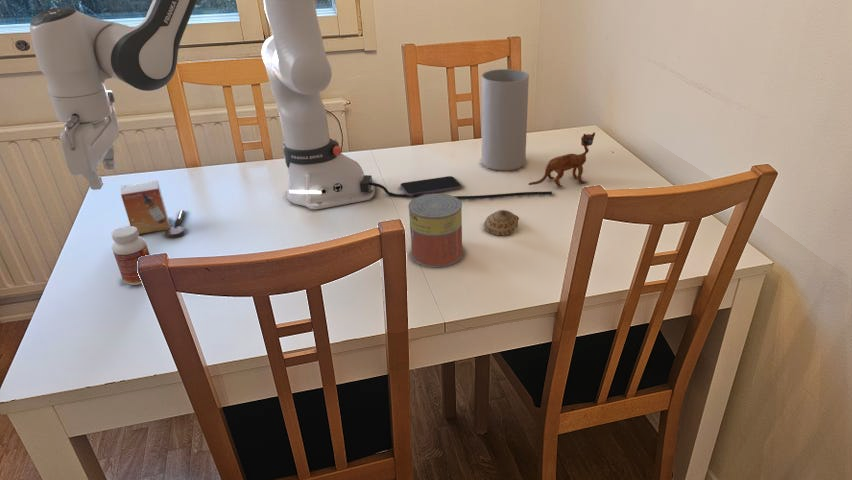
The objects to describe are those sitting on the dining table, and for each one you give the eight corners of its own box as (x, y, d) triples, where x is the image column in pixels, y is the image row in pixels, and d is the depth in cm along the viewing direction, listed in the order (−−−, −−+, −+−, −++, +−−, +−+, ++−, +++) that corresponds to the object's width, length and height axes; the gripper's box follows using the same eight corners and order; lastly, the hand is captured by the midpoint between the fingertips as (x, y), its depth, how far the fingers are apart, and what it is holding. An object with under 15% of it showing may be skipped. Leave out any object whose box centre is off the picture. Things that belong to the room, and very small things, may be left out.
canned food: (414, 240, 147) (411, 193, 141) (464, 241, 147) (463, 193, 141) (408, 266, 138) (405, 216, 131) (461, 267, 137) (460, 217, 131)
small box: (133, 236, 149) (119, 194, 144) (132, 225, 153) (119, 185, 148) (170, 229, 152) (158, 188, 146) (169, 219, 156) (157, 179, 151)
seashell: (524, 211, 155) (516, 213, 147) (520, 234, 156) (512, 237, 148) (491, 206, 157) (482, 208, 149) (488, 229, 158) (479, 232, 150)
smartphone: (462, 186, 170) (408, 194, 165) (462, 189, 171) (408, 198, 166) (452, 175, 176) (399, 183, 171) (452, 179, 177) (399, 187, 171)
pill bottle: (158, 280, 133) (143, 233, 127) (126, 289, 130) (109, 241, 125) (152, 267, 138) (138, 221, 132) (121, 275, 135) (104, 229, 129)
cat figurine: (533, 193, 168) (535, 143, 161) (523, 183, 173) (525, 134, 166) (594, 183, 173) (599, 135, 166) (583, 174, 178) (587, 126, 171)
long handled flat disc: (174, 213, 159) (173, 209, 158) (191, 211, 160) (190, 208, 159) (164, 238, 148) (163, 235, 148) (183, 237, 149) (182, 233, 148)
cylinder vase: (526, 172, 180) (529, 82, 167) (481, 171, 180) (481, 82, 167) (524, 154, 190) (527, 69, 177) (482, 154, 191) (482, 69, 177)
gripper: (84, 124, 107) (108, 200, 115) (115, 89, 124) (134, 156, 132) (42, 126, 106) (69, 202, 114) (79, 90, 123) (100, 158, 130)
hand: (104, 177), depth 123 cm, fingers open, 8 cm apart
